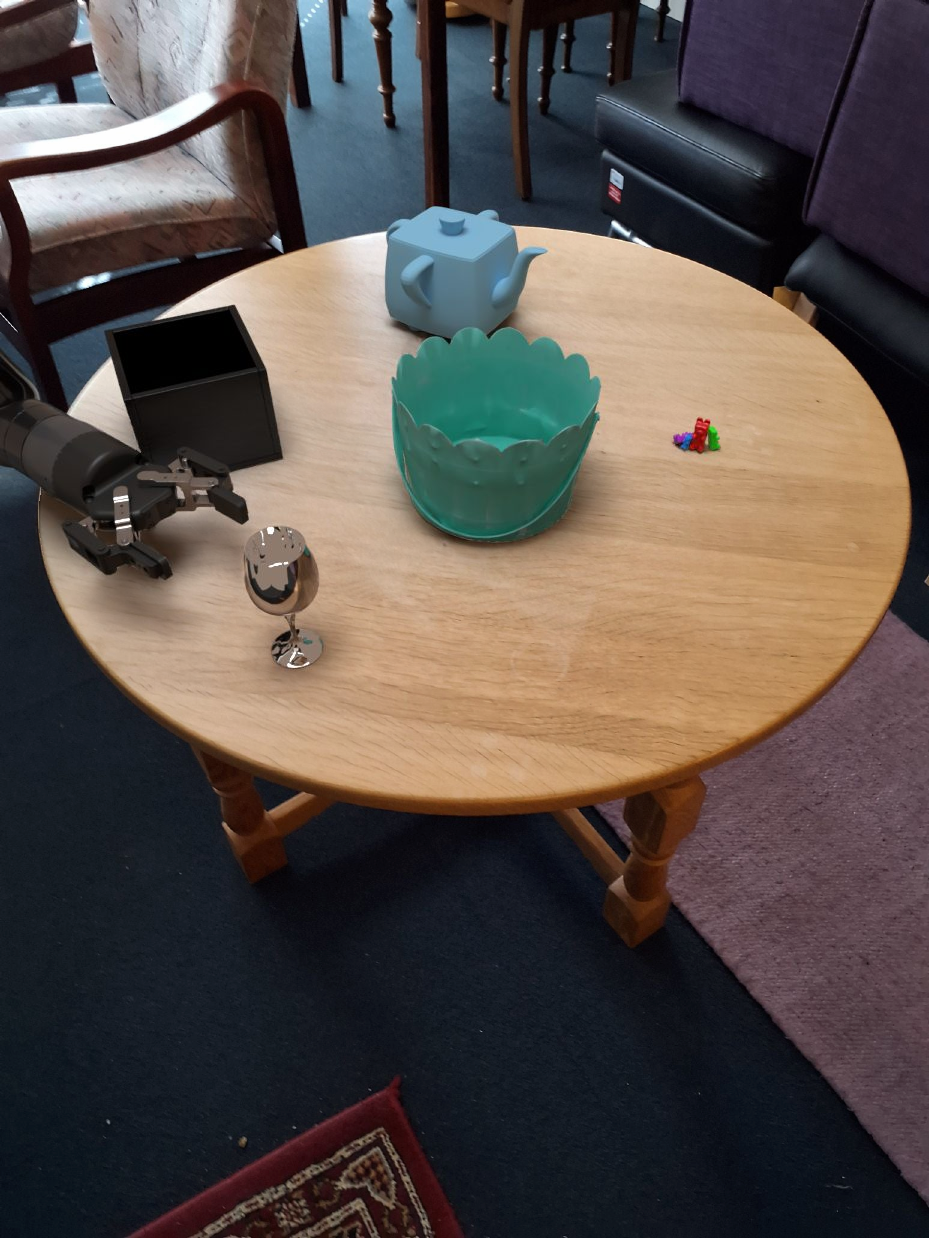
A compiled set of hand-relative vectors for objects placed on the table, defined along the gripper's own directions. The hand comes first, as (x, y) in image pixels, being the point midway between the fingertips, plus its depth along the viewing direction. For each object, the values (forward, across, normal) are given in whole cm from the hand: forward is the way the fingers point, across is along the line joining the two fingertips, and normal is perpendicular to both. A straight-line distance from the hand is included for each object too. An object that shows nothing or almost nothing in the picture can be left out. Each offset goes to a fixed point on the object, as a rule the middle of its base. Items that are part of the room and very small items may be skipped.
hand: (207, 541), depth 75 cm
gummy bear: (+23, +46, +8) cm, 52 cm away
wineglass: (+9, 0, +8) cm, 12 cm away
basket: (+10, +27, +8) cm, 30 cm away
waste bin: (-20, +16, +7) cm, 26 cm away
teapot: (-12, +51, +8) cm, 53 cm away
